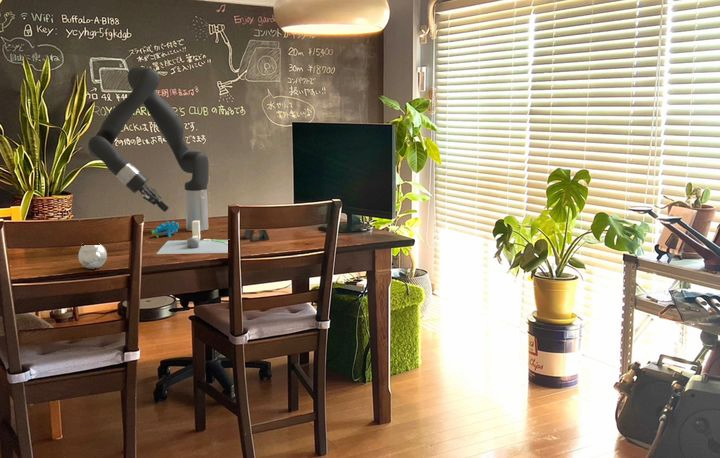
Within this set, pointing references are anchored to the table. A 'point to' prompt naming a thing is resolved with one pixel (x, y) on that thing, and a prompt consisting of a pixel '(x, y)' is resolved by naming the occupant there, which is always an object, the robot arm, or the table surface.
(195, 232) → the white l-shaped block
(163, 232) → the blue toy animal
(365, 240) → the table surface
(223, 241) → the board
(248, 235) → the door stopper
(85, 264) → the grey round ball
